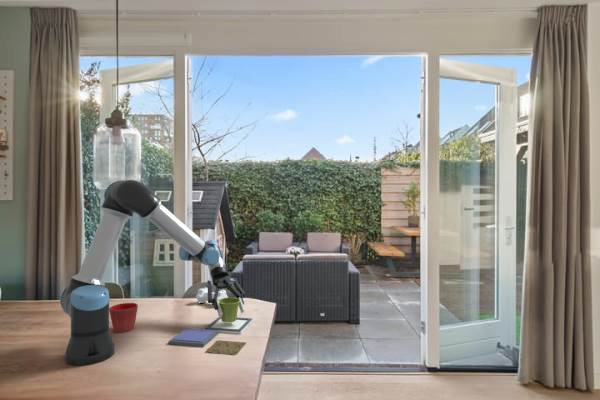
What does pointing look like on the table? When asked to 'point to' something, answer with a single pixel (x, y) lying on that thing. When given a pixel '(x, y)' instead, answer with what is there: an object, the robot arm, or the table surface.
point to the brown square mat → (225, 347)
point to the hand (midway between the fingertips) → (232, 313)
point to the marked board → (230, 325)
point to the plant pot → (229, 309)
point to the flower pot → (123, 316)
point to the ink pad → (194, 337)
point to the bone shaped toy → (203, 295)
